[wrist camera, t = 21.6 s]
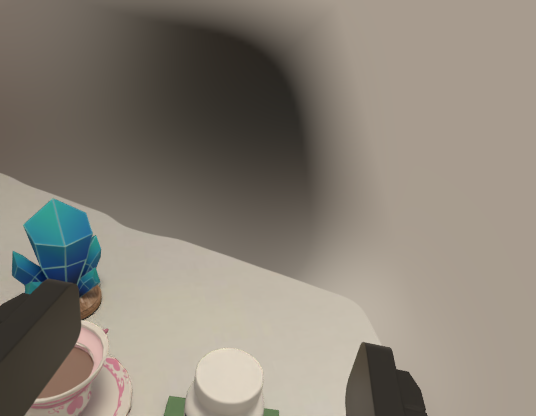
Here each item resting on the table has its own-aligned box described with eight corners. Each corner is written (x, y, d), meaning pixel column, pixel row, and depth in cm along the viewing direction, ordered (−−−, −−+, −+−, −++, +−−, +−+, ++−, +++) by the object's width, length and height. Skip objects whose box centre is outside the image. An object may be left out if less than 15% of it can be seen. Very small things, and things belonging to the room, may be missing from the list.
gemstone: (14, 294, 45) (-2, 198, 39) (96, 275, 50) (92, 187, 44) (25, 339, 40) (9, 236, 34) (115, 313, 45) (113, 219, 39)
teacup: (27, 519, 27) (15, 464, 24) (-60, 414, 32) (-77, 359, 29) (160, 398, 37) (163, 348, 34) (77, 332, 42) (74, 284, 39)
